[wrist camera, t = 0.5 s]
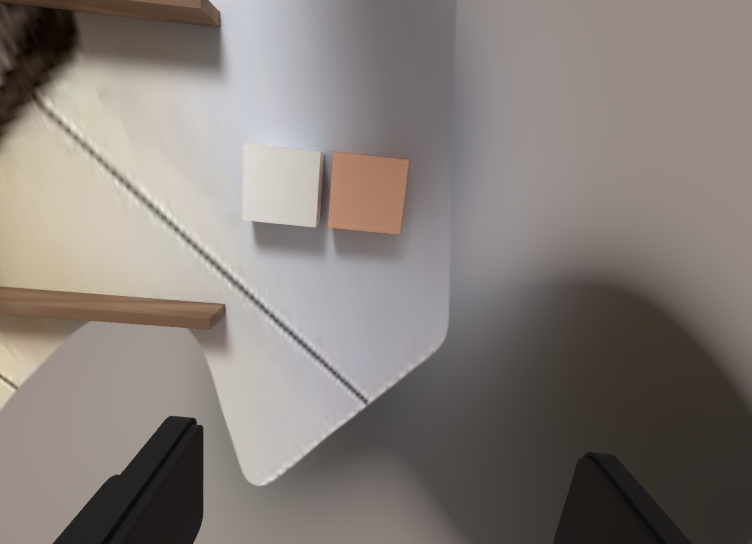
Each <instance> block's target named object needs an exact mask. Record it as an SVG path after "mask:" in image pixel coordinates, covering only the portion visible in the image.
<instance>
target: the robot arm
mask: <svg viewBox="0 0 752 544" xmlns="http://www.w3.org/2000/svg"><path fill="white" fill-rule="evenodd" d="M202 519H203V426H202V425H197V422H196V419H195V418H188V417H178V416H169V417H168V418H167V419H166V420H165V421H164V422H163V423H162V424H161V426H160V427H159V428H158V429H157V431H156V432H155V433H154V434H153V435H152V437H151V438H150V439H149V440H148V442H147V443H146V444H145V445H144V447H143V448H142V449H141V450H140V451H139V452H138V454H137V455H136V456H135V457H134V459H133V460H132V461H131V462H130V464H129V465H128V466H127V467H126V468H125V470H124V471H123V472H122V473H121V474H120V475H114V476H112V477H111V478H109V479H108V480H107V481H106V482H105V483H104V484H103V485H102V486H101V488H100V489H99V490H98V491H97V492H96V493H95V495H94V496H93V497H92V498H91V499H90V501H89V502H88V503H87V504H86V505H85V506H84V507H83V509H82V510H81V511H80V512H79V513H78V515H77V516H76V517H75V518H74V519H73V520H72V522H71V523H70V524H69V525H68V526H67V527H66V529H65V530H64V531H63V532H62V533H61V535H60V536H59V537H58V538H57V539H56V541H55V542H54V543H53V544H193V543H194V541H195V539H196V536H197V534H198V532H199V529H200V527H201V523H202ZM554 544H692V543H691V542H690V541H689V540H688V538H687V537H686V536H685V535H684V534H683V533H682V532H681V530H680V529H679V528H678V527H677V526H676V525H675V524H674V522H673V521H672V520H671V519H670V518H669V517H668V516H667V515H666V513H665V512H664V511H663V510H662V509H661V508H660V507H659V505H658V504H657V503H656V502H655V501H654V500H653V499H652V497H651V496H650V495H649V494H648V493H647V492H646V491H645V489H644V488H643V487H642V486H641V485H640V484H639V483H638V481H637V480H636V479H635V478H634V477H633V476H632V475H631V473H630V472H629V471H628V470H627V469H626V468H625V467H624V465H623V464H622V463H621V462H620V461H619V460H618V459H617V458H616V457H615V456H614V455H612V454H604V453H592V452H588V453H586V454H585V455H584V457H583V458H580V459H579V460H578V463H577V466H576V469H575V472H574V476H573V479H572V482H571V486H570V489H569V492H568V495H567V498H566V502H565V505H564V509H563V512H562V515H561V519H560V521H559V525H558V528H557V531H556V535H555V538H554Z"/></svg>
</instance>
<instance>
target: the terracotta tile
mask: <svg viewBox="0 0 752 544" xmlns="http://www.w3.org/2000/svg"><path fill="white" fill-rule="evenodd" d="M408 166H409V160H407V159H398V158H388V157H379V156H370V155H361V154H351V153H342V152H333V160H332V175H331V190H330V204H329V219H328V228H337V229H347V230H357V231H367V232H377V233H387V234H398V235H400V232H401V224H402V215H403V207H404V199H405V191H406V182H407V174H408Z"/></svg>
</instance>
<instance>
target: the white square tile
mask: <svg viewBox="0 0 752 544" xmlns="http://www.w3.org/2000/svg"><path fill="white" fill-rule="evenodd" d="M323 164H324V152H321V151H313V150H304V149H295V148H286V147H277V146H268V145H259V144H250V143H243V149H242V220H246V221H256V222H266V223H276V224H286V225H296V226H306V227H317V225H318V224H319V223H320V210H321V195H322V180H323Z"/></svg>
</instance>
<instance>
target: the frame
mask: <svg viewBox="0 0 752 544" xmlns="http://www.w3.org/2000/svg"><path fill="white" fill-rule="evenodd" d="M0 3H9V4H18V5H27V6H36V7H45V8H54V9H63V10H72V11H81V12H90V13H99V14H108V15H117V16H126V17H135V18H144V19H153V20H162V21H171V22H180V23H189V24H198V25H207V26H216V27H220V12H219V11H218V10H217V9H216V8H215V7H214V6H213V5H212V3H211V2H210V1H209V0H0ZM0 314H9V315H22V316H36V317H49V318H62V319H76V320H89V321H103V322H116V323H130V324H144V325H156V326H170V327H183V328H196V329H211V328H212V327H213V326H214V325H215V324H216V323H217V322H218V321H219V320H220V319H221V318H222V317H223V316H224V315H225V304H216V303H203V302H190V301H177V300H164V299H152V298H139V297H126V296H113V295H100V294H87V293H74V292H62V291H49V290H36V289H23V288H10V287H0Z"/></svg>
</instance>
